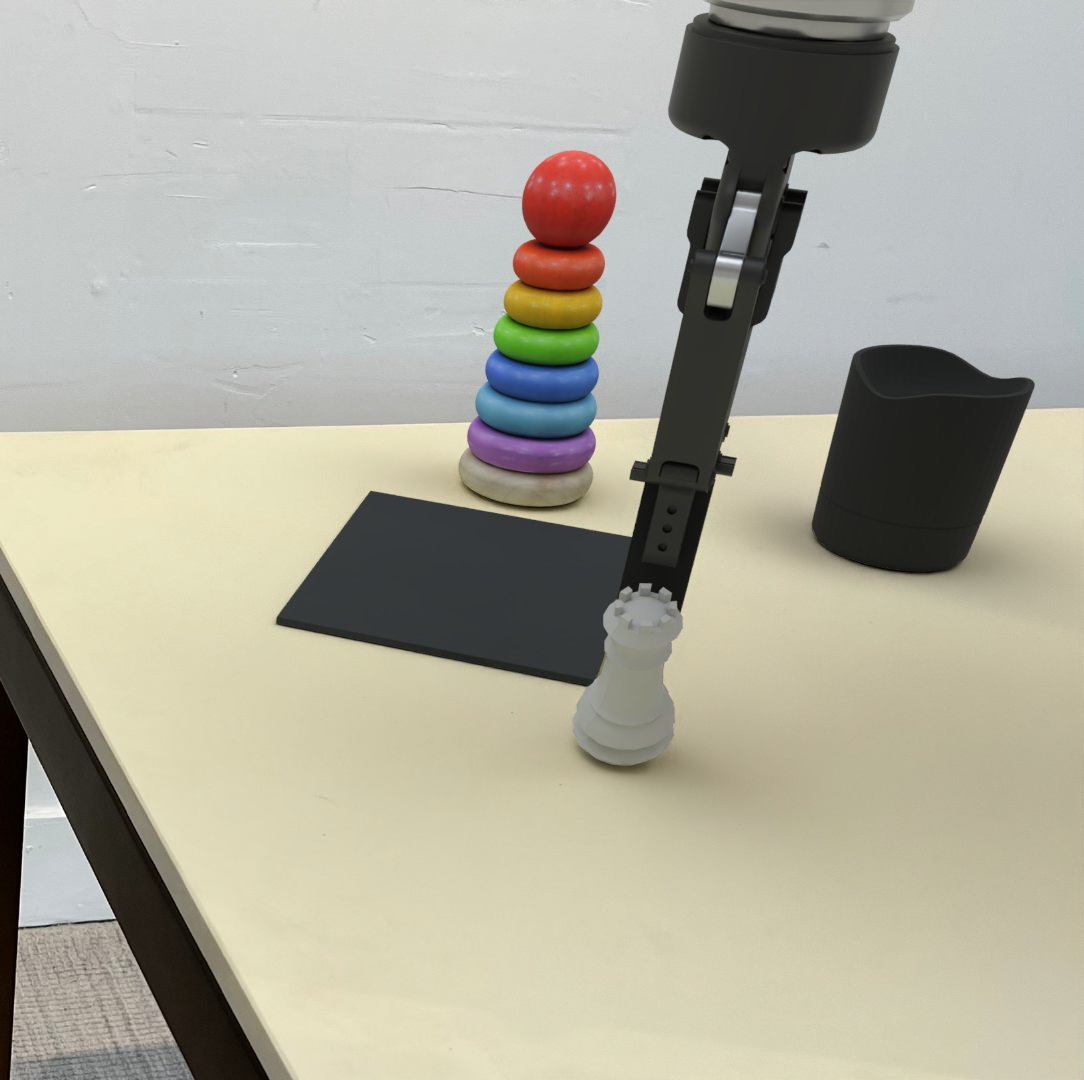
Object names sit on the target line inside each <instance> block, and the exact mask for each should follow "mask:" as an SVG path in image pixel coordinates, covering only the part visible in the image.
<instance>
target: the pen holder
mask: <svg viewBox="0 0 1084 1080" xmlns="http://www.w3.org/2000/svg"><path fill="white" fill-rule="evenodd" d="M1035 385H1036V383H1035V381H1034V380H1033V379H1031V378H1028V377H1026V376H1025V377H1023V376H1020V377H1019V376H1018V377H1008V378H1003V377H1002V378H1001V377H996V376H992V375H989V374H987V373H985V372H983V371H982V370H980V369H979V368H978V367H976V366H974V365H973V364H972V363H970V362H968V361H967V360H965V359H964V358H962V357H960V356H959V355H958V354H955V353H953V352H952V351H948V350H945V349H944V348H938V347H935V346H929V345H922V344H900V343H899V344H898V343H893V344H878V345H871V346H866V347H864V348H861V349H859V350H857V351H856V352H854V353H853V355H852V358H851V361H850V366H849V369H848V374H847V377H846V381H845V386H844V389H843V393H842V398H841V401H840V406H839V408H838V414H837V418H836V421H835V425H834V429H833V432H832V438H831V441H830V446H829V449H828V453H827V457H826V461H825V464H824V469H823V472H822V477H821V481H820V486H819V489H818V494H817V499H816V501H815V502H816V503H815V507H814V511H813V514H812V515H813V516H812V521H811V529H812V532H813V535H814V537H815V539H816V541H818V542H819V543H820V544H821V545H822V546H823V547H825V548H826V549H828V550H829V551H831V552H832V553H835V554H837V555H838V556H841V557H844V558H846V559H848V560H852V561H854V562H857V563H861V564H864V565H868V566H873V567H876V568H881V569H887V570H893V571H899V572H900V571H901V572H903V571H904V572H916V573H920V572H921V573H925V572H938V571H943V570H947V569H951V568H953V567H955V566H956V565H958V564H960V563H961V562H962V561H964V560H965V558H967V556H968V554H969V552H970V551H971V548H972V546H973V543H974V542H975V538H976V536H977V534H978V532H979V529H980V527H981V524H982V521H983V519H984V516H985V515H986V512H987V510H988V508H989V505H990V503H991V499H992V497H993V494H994V492H995V489H996V487H997V484H998V482H999V479H1000V476H1001V475H1002V471H1003V469H1004V466H1005V464H1006V461H1007V459H1008V456H1009V454H1010V451H1011V450H1012V449H1011V448H1012V447H1013V443H1014V441H1015V438H1016V436H1017V433H1018V430H1019V428H1020V426H1021V423H1022V420H1023V418H1024V416H1025V413H1026V410H1027V408H1028V405H1029V403H1030V400H1031V398H1032V394H1033V392H1034V389H1035Z"/></svg>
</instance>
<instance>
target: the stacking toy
mask: <svg viewBox="0 0 1084 1080" xmlns="http://www.w3.org/2000/svg"><path fill="white" fill-rule="evenodd" d="M527 178H528V179H527V181H526V182H525V186H524V188H523V192H522V199H521V213H522V217H523V221H524V223H525V225H526V228H527V230H528V231H529V233H530V234H531V235H532V237H533V239H529V240H528V241H525V242H523V243H522V244H520V245H519V246H518V248H516V250H515V252H514V255H513V257H512V270H513V272H514V274H515V276H516V277H517V278H518V279H517V280H515V281H514V282H512V283H511V284H510V285H509V286H508V287H507V289H506V290H505V293H504V295H503V307H504V311H505V312H506V313H505V314H504V315H502V316H501V317H500V318H499V319H498V320H497V321H496V324H495V326H494V329H493V335H492V338H493V342H494V345H495V348H496V349H494V351H493V352H492V353H490V355H489V356H488V358H487V360H486V362H485V369H484V372H485V377H486V380H487V381H486V382H484V383H483V384H482V385H481V386H480V388H479V389H478V391H477V393H476V396H475V399H474V400H475V401H474V403H475V404H474V405H475V410H476V413H477V416H476V417H475V418H474V419H473V420H472V421H471V423H470V424H469V426H468V429H467V432H466V433H467V434H466V439H467V441H466V442H467V445H468V447H467V448H466V449H465V450H464V451H463V452H462V454H461V456H460V458H459V461H458V466H457V467H458V468H457V470H458V475H459V478H460V480H461V481H462V482H463V484H464V485H465V486H466V487H467V488H469V489H470V490H472V491H473V492H475V493H476V494H479V495H481V496H483V497H485V498H488V499H491V500H493V501H496V502H500V503H505V504H510V505H515V506H524V507H556V506H561V505H562V506H563V505H566V504H570V503H572V502H575V501H577V500H579V499H581V498H582V497H583V496H585V495H586V493H587V492H588V491H589V490H590V488H591V486H592V484H593V480H594V471H593V468H592V465H591V463H590V462H589V461H591V459H592V457H593V455H594V453H595V450H596V446H597V439H596V435H595V433H594V431H593V429H592V428H591V427H590V426H592V424H593V422H594V421H595V419H596V417H597V413H598V412H597V410H598V406H597V405H598V404H597V400H596V398H595V396H594V394H593V393H592V392H593V391H594V389H595V388H596V386H597V384H598V381H599V376H600V369H599V366H598V363H597V361H596V360H595V359H594V358H593V356H594V354H595V353H596V351H597V349H598V347H599V343H600V332H599V329H598V327H597V325H596V324H595V323H594V321H595V320H596V319H598V317H599V316H600V314H601V312H602V309H603V303H604V302H603V296H602V294H601V292H600V290H599V289H598V287H596V286H595V284H596V283H597V282H598V281H599V280H600V279H601V278H602V276H603V274H604V271H605V267H606V261H605V260H606V259H605V256H604V253H603V251H602V250H601V249H600V248H599V247H598V246H596V245H595V244H593V243H592V241H594V240H595V239H596V238H598V237H599V236H600V235H601V234H602V233H603V231H604V230H605V229H606V227H608V225H609V222H610V220H611V219H612V217H613V214H614V211H615V208H616V203H617V187H616V186H617V185H616V181H615V177H614V175H613V173H612V171H611V170H610V168H609V166H608V165H607V164H606V163H605V162H604V161H603V160H602V159H601V158H600V157H598V156H597V155H595V154H592V153H589V152H587V151H584V150H573V149H571V150H563V151H559V152H556V153H553V154H552V155H550V156H548V157H546V158H545V159H544V160H543V161H541V162H540V163H539V164H538V165H537V166H536V167H535V168H534V170H532V172H531V173H530V175H529V176H528V177H527Z"/></svg>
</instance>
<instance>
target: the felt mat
mask: <svg viewBox="0 0 1084 1080" xmlns="http://www.w3.org/2000/svg"><path fill="white" fill-rule="evenodd" d="M631 538H632V536H629V535H624V534H618V533H612V532H606V531H601V530H597V529H589V528H584V527H577V526H572V525H568V524H567V525H566V524H561V523H557V522H550V521H545V520H538V519H532V518H527V517H522V516H516V515H510V514H506V513H505V514H504V513H499V512H493V511H487V510H483V509H477V508H471V507H466V506H460V505H454V504H449V503H443V502H438V501H437V502H436V501H431V500H425V499H422V498H421V499H419V498H415V497H409V496H403V495H398V494H392V493H388V492H387V493H386V492H380V491H375V490H369V492H368V493H367V494H366V496H365V497H364V499H363V500H362V501H361V502H360V504H359V505H358V506H357V508H356V509H355V510H354V512H353V513H352V515H351V516H350V518H349V519H348V520H347V522H346V523H345V524H344V525H343V527H342V528H341V529H340V531H339V532H338V534H337V535H336V536H335V537H334V539H333V540H332V541H331V542H330V544H329V545H328V547H327V549H326V550H325V551H324V552H323V554H322V555H321V556H320V558H319V559H318V561H317V562H316V563H315V564H314V566H313V567H312V568H311V570H310V571H309V573H308V574H307V575H306V576H305V578H304V579H303V580H302V582H301V583H300V585H299V586H298V587H297V589H296V590H295V592H293V594H292V595H291V596H290V598H289V600H288V601H287V602H286V603H285V604H284V606H283V608H282V609H281V610H280V612H279V613H278V614H277V616H276V619H275V623H276V624H277V625H281V626H287V627H290V628H291V627H292V628H296V629H301V630H307V631H310V632H311V631H312V632H316V633H317V632H318V633H322V634H326V635H332V636H335V637H336V636H337V637H341V638H346V639H351V640H357V641H362V642H365V643H366V642H367V643H371V644H375V645H382V646H387V647H392V648H397V649H402V650H406V651H412V652H416V653H421V654H426V655H432V656H437V657H441V658H447V659H452V660H457V661H462V662H467V663H471V664H477V665H482V666H487V667H493V668H497V669H502V670H507V671H512V672H515V673H516V672H517V673H521V674H527V675H531V676H536V677H542V678H547V679H552V680H557V681H561V682H566V683H572V684H578V685H582V686H586V687H588V686H589V685H591V684H592V683H593V682H594V680H595V679H596V678H598V676H599V675H598V674H599V672H600V669H601V666H602V663H603V661H604V658H605V654H606V652H605V640H606V638H607V636H608V633H607V631H606V629H605V628H604V626H603V615H604V613H605V611H606V610H607V608H608V606H609V605H610V604H612V603H613V602H615V600H617V597H618V593H619V589H620V585H621V580H622V576H623V572H624V568H625V564H626V559H627V555H628V551H629V547H630V543H631Z"/></svg>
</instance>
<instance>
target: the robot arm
mask: <svg viewBox="0 0 1084 1080" xmlns="http://www.w3.org/2000/svg"><path fill="white" fill-rule="evenodd" d="M703 2H706V3H708V4H709V10H708V12H704V13H699V14H697V15H695V16H694V17H693V19H692V22H689V23H687V24H686V25H685V30H684V34H683V38H682V44H681V47H680V53H679V55H678V60H677V64H676V65H677V66H676V69H675V70H676V71H675V74H674V79H673V84H672V88H671V93H670V96H669V97H670V98H669V101H668V108H667V114H668V119H669V121H670V123H671V124H672V125H673V126H674V127H675V128H676V129H677V130H678V131H681V132H682V133H684V134H686V135H688V136H691V137H694V138H696V139H700V140H703V141H719V142H720V143H722V144H723V145H724V146H725V147H726V148H727V149H728V150H727V154H726V157H725V161H724V165H723V168H722V172H721V176H720V178H715V177H707V176H704V177H703V179H702V183H701V186H700V189H697V190H696V192H695V195H694V199H693V202H692V208H691V211H690V216H689V220H688V224H687V228H686V237H687V240H688V242H689V248H688V254H687V258H686V261H685V266H684V270H683V274H682V279H681V282H680V287H679V292H678V296H677V301H676V306H677V308H678V311H679V312H680V313H681V314H682V318H681V322H680V326H679V330H678V331H679V332H678V335H677V340H676V344H675V349H674V352H673V353H674V354H673V358H672V362H671V367H670V370H669V375H668V380H667V385H666V389H665V392H664V393H665V395H664V398H663V403H662V407H661V412H660V416H659V420H658V424H657V430H656V434H655V438H654V442H653V447H652V452H651V456H650V457H649V458H647V460H646V461H642V460H634V462H633V464H632V466H631V469H630V472H629V477H628V479H629V481H634V482H641V483H644V485H643V488H642V489H643V490H642V492H641V497H640V500H639V506H638V510H637V514H636V518H635V522H634V525H633V530H632V534H631V537H632V538H631V543H630V547H629V551H628V555H627V559H626V564H625V568H624V572H623V576H622V580H621V585H620V589H619V593H618V597H617V600H618V599H619V595H620V592H621V591H622V590H624V589H625V588H627V587H628V586H629V587H630V588H631V589H632V593H634V592H638V590H639V584H640V583H649V584H652V585H651V591H650V592H653V593H656V594H659V591H660V590H661V589H662V588H663V587H664V588H665V589H667V590H668V591H670V592H671V593H672V595H671V600H670V601H671V602H672V601H677V609H678V610H679V612H680V614H681V613H682V610H683V607H684V601H685V598H686V595H687V591H688V587H689V583H690V579H691V576H692V571H693V569H694V568H693V566H694V564H695V560H696V556H697V553H698V548H699V546H700V542H701V537H702V533H703V529H704V526H705V522H706V519H707V514H708V510H709V506H710V503H711V499H712V495H713V491H714V487H715V484H716V477H717V475H719V476H724V477H731V478H732V477H733V474H734V470H735V467H736V464H737V460H738V458H737V457H736V456H735V457H734V456H731V455H730V456H729V455H723V452H722V450H721V447H722V444H723V443H725V441H726V438H728V437H729V432H730V429H731V425H730V422H729V419H730V416H731V411H732V407H733V404H734V400H735V396H736V392H737V388H738V386H739V382H740V378H741V374H742V370H743V366H744V363H745V360H746V359H745V358H746V355H747V351H748V348H749V344H750V340H751V337H752V333H753V328H754V327H755V326H757V325H760V324H762V323H763V321H765V320H766V319H767V316H768V314H769V311H770V308H771V305H772V301H773V298H774V296H775V295H774V294H775V292H776V288H777V285H778V281H779V276H780V273H781V269H782V265H783V262H784V258H785V256H786V255H787V254H788V253H789V252H790V251H791V250H792V248H793V247H794V244H795V240H796V237H797V233H798V230H799V226H800V223H801V219H802V216H803V214H804V213H803V212H804V209H805V205H806V201H807V197H808V193H809V190H808V189H807V190H806V189H799V188H791V187H790V183H789V181H790V176H791V172H792V168H793V166H794V161H795V157H796V154H799V153H802V152H806V153H813V154H817V155H835V154H837V155H838V154H845V153H850V152H855V151H857V150H860V149H862V148H863V147H865V146H866V145H868V144H869V143H870V142H871V141H872V140H873V138H875V135H876V133H877V132H878V131H877V130H878V127H879V125H880V120H881V116H882V113H883V109H884V106H885V102H886V99H887V95H888V92H889V88H890V84H891V81H892V77H893V74H894V71H895V67H896V63H897V60H898V56H899V53H900V49H901V48H900V46H899V44H897V43H896V42H897V37H896V36H895V35H894V34H893V33H891V32H889V28H890V25H891V22H892V23H893V22H899V21H900V20H901V19H903V18H905V17H906V16H907V15H909V14H910V13H912V12H913V10H914V6H915V2H916V0H703ZM681 615H682V614H681Z"/></svg>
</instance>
